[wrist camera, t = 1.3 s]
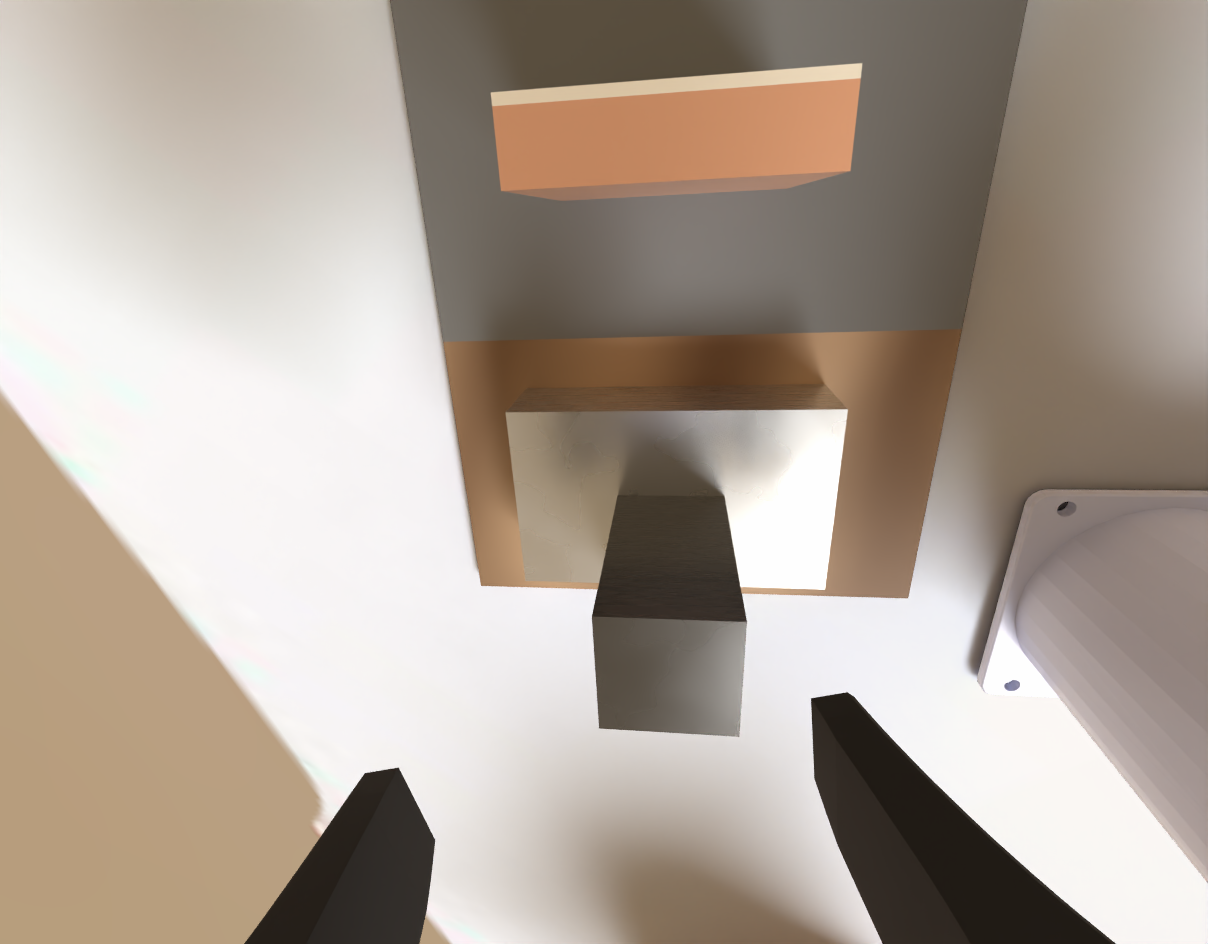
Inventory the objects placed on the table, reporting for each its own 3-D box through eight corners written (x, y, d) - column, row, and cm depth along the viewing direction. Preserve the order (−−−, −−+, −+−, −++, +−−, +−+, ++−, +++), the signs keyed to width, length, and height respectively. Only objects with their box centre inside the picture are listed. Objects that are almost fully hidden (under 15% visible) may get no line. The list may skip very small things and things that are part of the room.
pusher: (824, 383, 17) (936, 507, 10) (806, 545, 19) (887, 745, 12) (526, 388, 18) (426, 501, 11) (542, 540, 20) (467, 720, 13)
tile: (791, 122, 14) (861, 63, 9) (786, 188, 15) (850, 170, 10) (557, 138, 15) (491, 92, 10) (561, 200, 16) (500, 191, 10)
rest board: (954, 326, 16) (961, 329, 16) (902, 589, 20) (907, 598, 19) (448, 338, 18) (443, 341, 18) (485, 578, 22) (480, 585, 21)
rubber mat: (1085, -353, 11) (1102, -377, 11) (954, 326, 16) (961, 329, 16) (362, -240, 13) (350, -256, 13) (448, 338, 18) (443, 341, 18)
